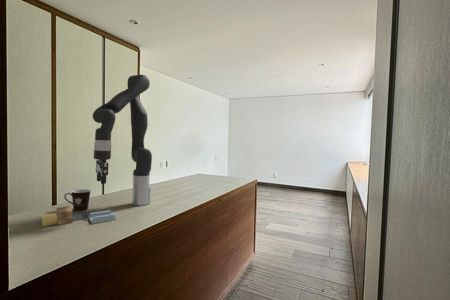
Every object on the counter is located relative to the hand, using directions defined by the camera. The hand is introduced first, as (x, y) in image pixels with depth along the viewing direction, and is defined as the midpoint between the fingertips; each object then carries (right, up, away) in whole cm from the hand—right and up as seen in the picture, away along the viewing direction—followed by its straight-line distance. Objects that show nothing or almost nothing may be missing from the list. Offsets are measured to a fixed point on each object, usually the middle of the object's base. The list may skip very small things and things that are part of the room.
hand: (101, 182), depth 119 cm
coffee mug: (-17, -16, +9) cm, 25 cm away
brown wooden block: (-12, -16, -9) cm, 23 cm away
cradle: (+3, -17, -5) cm, 18 cm away
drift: (-8, -17, -6) cm, 20 cm away
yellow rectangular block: (-15, -17, -12) cm, 25 cm away
